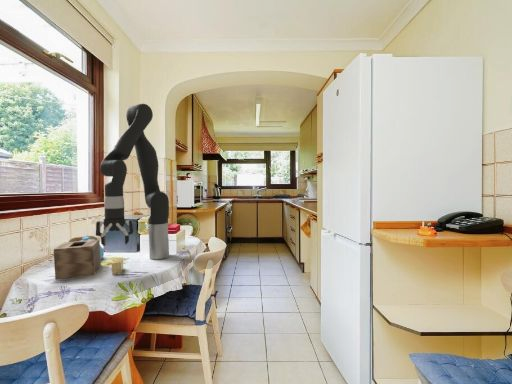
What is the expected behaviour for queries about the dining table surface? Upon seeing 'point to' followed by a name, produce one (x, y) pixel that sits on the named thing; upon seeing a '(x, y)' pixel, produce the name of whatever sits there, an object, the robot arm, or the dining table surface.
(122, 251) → the dining table surface
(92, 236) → the tin
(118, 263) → the beige block
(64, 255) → the money box
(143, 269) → the dining table surface
